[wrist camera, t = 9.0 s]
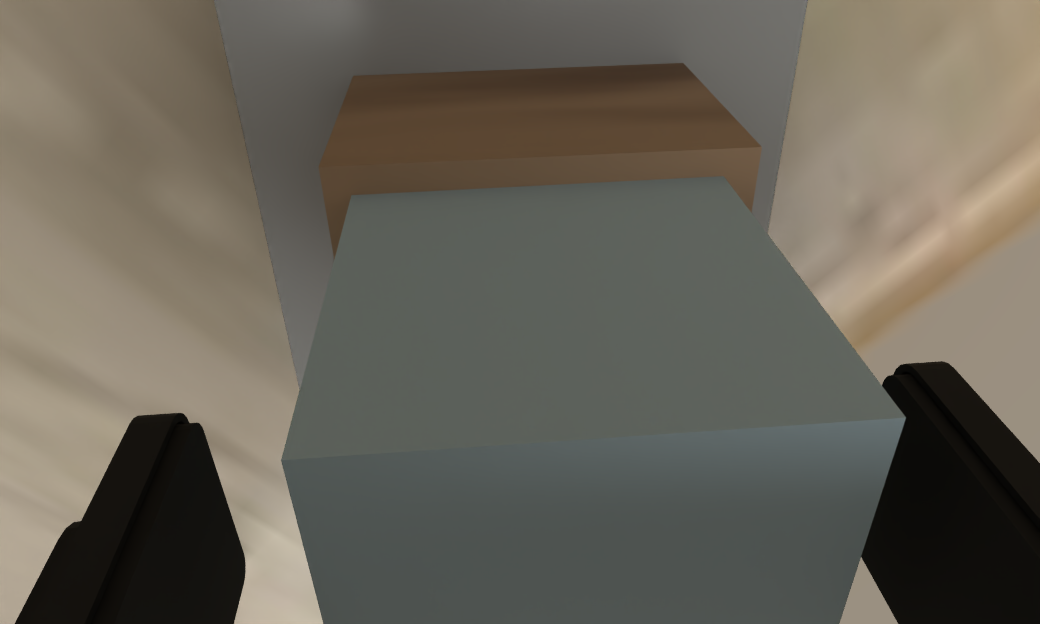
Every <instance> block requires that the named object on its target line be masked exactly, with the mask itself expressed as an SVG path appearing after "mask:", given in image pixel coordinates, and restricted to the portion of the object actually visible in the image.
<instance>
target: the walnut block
mask: <svg viewBox="0 0 1040 624" xmlns="http://www.w3.org/2000/svg"><path fill="white" fill-rule="evenodd" d="M761 150H762V147H761V145H760V144H759V143H758V142H757V141H756V140H755V139H754V138H753V137H752V136H751V135H750V134H749V133H748V132H747V131H746V129H745V128H744V127H743V126H742V125H741V124H740V123H739V122H738V121H737V120H736V119H735V118H734V117H733V116H732V114H731V113H730V112H729V111H728V110H727V109H726V108H725V107H724V106H723V105H722V104H721V103H720V102H719V101H718V100H717V98H716V97H715V96H714V95H713V94H712V93H711V92H710V91H709V90H708V89H707V88H706V87H705V86H704V85H703V83H702V82H701V81H700V80H699V79H698V78H697V77H696V76H695V75H694V74H693V73H692V72H691V71H690V70H689V69H688V67H687V66H686V65H685V64H684V63H668V64H642V65H617V66H591V67H565V68H540V69H514V70H488V71H463V72H437V73H411V74H386V75H360V76H353V78H352V80H351V83H350V85H349V88H348V91H347V93H346V96H345V99H344V101H343V104H342V106H341V109H340V112H339V114H338V117H337V120H336V122H335V125H334V127H333V130H332V133H331V135H330V138H329V141H328V143H327V146H326V149H325V151H324V154H323V156H322V159H321V162H320V164H319V173H320V179H321V185H322V191H323V197H324V203H325V208H326V214H327V220H328V226H329V232H330V238H331V244H332V250H333V256H334V259H335V255H336V252H337V248H338V244H339V240H340V236H341V233H342V229H343V225H344V221H345V218H346V214H347V210H348V206H349V202H350V199H351V195H366V194H385V193H404V192H424V191H443V190H463V189H482V188H502V187H521V186H541V185H560V184H580V183H599V182H619V181H638V180H658V179H677V178H697V177H716V176H724V177H725V178H726V180H727V181H728V182H729V184H730V185H731V186H732V188H733V189H734V190H735V192H736V193H737V194H738V196H739V197H740V198H741V200H742V201H743V202H744V204H745V205H746V206H747V208H748V209H749V210H750V212H751V213H752V207H753V201H754V194H755V188H756V182H757V175H758V169H759V163H760V156H761Z"/></svg>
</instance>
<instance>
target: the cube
mask: <svg viewBox="0 0 1040 624" xmlns="http://www.w3.org/2000/svg"><path fill="white" fill-rule="evenodd" d="M905 419H906V417H905V416H904V414H903V413H902V412H901V410H900V409H899V408H898V407H897V405H896V404H895V403H894V401H893V400H892V399H891V397H890V396H889V395H888V393H887V392H886V391H885V389H884V388H883V387H882V385H881V384H880V383H879V381H878V380H877V379H876V377H875V376H874V375H873V373H872V372H871V371H870V369H869V368H868V367H867V365H866V364H865V363H864V361H863V360H862V359H861V357H860V356H859V355H858V353H857V352H856V351H855V349H854V348H853V347H852V346H851V344H850V343H849V342H848V340H847V339H846V338H845V336H844V335H843V334H842V332H841V331H840V330H839V328H838V327H837V326H836V324H835V323H834V322H833V320H832V319H831V318H830V316H829V315H828V314H827V312H826V311H825V310H824V308H823V307H822V306H821V304H820V303H819V302H818V300H817V299H816V298H815V296H814V295H813V294H812V292H811V291H810V290H809V289H808V287H807V286H806V285H805V283H804V282H803V281H802V279H801V278H800V277H799V275H798V274H797V273H796V271H795V270H794V269H793V267H792V266H791V265H790V263H789V262H788V261H787V259H786V258H785V257H784V255H783V254H782V253H781V251H780V250H779V249H778V247H777V246H776V245H775V243H774V242H773V241H772V239H771V238H770V237H769V235H768V234H767V233H766V232H765V230H764V229H763V228H762V226H761V225H760V224H759V222H758V221H757V220H756V218H755V217H754V216H753V214H752V213H751V212H750V210H749V209H748V208H747V206H746V205H745V204H744V202H743V201H742V200H741V198H740V197H739V196H738V194H737V193H736V192H735V190H734V189H733V188H732V186H731V185H730V184H729V182H728V181H727V180H726V178H725V177H724V176H716V177H697V178H677V179H658V180H638V181H619V182H599V183H580V184H560V185H541V186H521V187H502V188H482V189H463V190H443V191H424V192H404V193H385V194H366V195H351V199H350V202H349V206H348V210H347V214H346V218H345V221H344V225H343V229H342V233H341V236H340V240H339V244H338V248H337V252H336V255H335V259H334V263H333V267H332V270H331V274H330V278H329V282H328V286H327V289H326V293H325V297H324V301H323V304H322V308H321V312H320V316H319V319H318V323H317V327H316V331H315V335H314V338H313V342H312V346H311V350H310V353H309V357H308V361H307V365H306V369H305V372H304V376H303V380H302V384H301V387H300V391H299V395H298V399H297V403H296V406H295V410H294V414H293V418H292V421H291V425H290V429H289V433H288V436H287V440H286V444H285V448H284V452H283V455H282V459H281V461H282V465H283V469H284V473H285V477H286V481H287V484H288V488H289V492H290V496H291V500H292V504H293V508H294V511H295V515H296V519H297V523H298V527H299V531H300V535H301V539H302V542H303V546H304V550H305V554H306V558H307V562H308V566H309V569H310V573H311V577H312V581H313V585H314V589H315V593H316V596H317V600H318V604H319V608H320V612H321V616H322V620H323V624H839V623H840V619H841V617H842V614H843V610H844V607H845V604H846V601H847V598H848V595H849V592H850V589H851V586H852V583H853V580H854V577H855V573H856V570H857V567H858V564H859V561H860V558H861V555H862V552H863V549H864V546H865V543H866V539H867V536H868V533H869V530H870V527H871V524H872V521H873V518H874V515H875V512H876V509H877V506H878V502H879V499H880V496H881V493H882V490H883V487H884V484H885V481H886V478H887V475H888V472H889V468H890V465H891V462H892V459H893V456H894V453H895V450H896V447H897V444H898V441H899V438H900V435H901V431H902V428H903V425H904V422H905Z"/></svg>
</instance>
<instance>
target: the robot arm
mask: <svg viewBox="0 0 1040 624" xmlns="http://www.w3.org/2000/svg"><path fill="white" fill-rule="evenodd" d="M882 387H883V388H884V389H885V391H886V392H887V393H888V395H889V396H890V397H891V399H892V400H893V401H894V403H895V404H896V405H897V407H898V408H899V409H900V410H901V412H902V413H903V414H904V416H905V417H906V419H905V422H904V425H903V428H902V431H901V435H900V438H899V441H898V444H897V447H896V450H895V453H894V456H893V459H892V462H891V465H890V468H889V472H888V475H887V478H886V481H885V484H884V487H883V490H882V493H881V496H880V499H879V502H878V506H877V509H876V512H875V515H874V518H873V521H872V524H871V527H870V530H869V533H868V536H867V539H866V543H865V546H864V549H863V552H862V555H861V557H862V559H863V561H864V563H865V564H866V566H867V568H868V570H869V572H870V573H871V575H872V577H873V579H874V581H875V582H876V584H877V586H878V588H879V590H880V591H881V593H882V595H883V597H884V598H885V600H886V602H887V604H888V606H889V608H890V609H891V611H892V613H893V615H894V617H895V619H896V620H897V622H898V624H1040V463H1039V462H1038V461H1037V460H1036V459H1035V457H1034V456H1033V455H1032V454H1031V453H1030V452H1029V451H1028V450H1027V449H1026V448H1025V446H1024V445H1023V444H1022V443H1021V442H1020V441H1019V440H1018V439H1017V438H1016V436H1015V435H1014V434H1013V433H1012V432H1011V431H1010V430H1009V429H1008V428H1007V427H1006V425H1005V424H1004V423H1003V422H1002V421H1001V420H1000V419H999V418H998V416H997V415H996V414H995V413H994V412H993V411H992V410H991V409H990V408H989V406H988V405H987V404H986V403H985V402H984V401H983V400H982V399H981V398H980V396H979V395H978V394H977V393H976V392H975V391H974V390H973V389H972V388H971V386H970V385H969V384H968V383H967V382H966V381H965V380H964V379H963V378H962V377H961V375H960V374H959V373H958V372H957V371H956V370H955V369H954V368H953V367H952V366H951V365H950V364H948V363H946V362H942V361H941V362H926V363H912V364H903V365H900V366H899V367H898V368H897V369H896V370H895V372H894V374H893V375H891V376H888V377H886V379H885V380H884V382H883V384H882ZM244 580H245V557H244V553H243V550H242V547H241V543H240V540H239V537H238V534H237V531H236V528H235V525H234V522H233V519H232V516H231V513H230V510H229V507H228V504H227V501H226V498H225V495H224V491H223V488H222V485H221V482H220V479H219V476H218V473H217V470H216V467H215V464H214V461H213V458H212V455H211V452H210V449H209V446H208V443H207V439H206V436H205V433H204V430H203V428H202V426H201V425H200V424H199V423H189V421H188V419H187V417H186V416H185V415H184V414H182V413H172V414H157V415H142V416H137V417H135V418H133V420H132V421H131V423H130V424H129V426H128V428H127V430H126V432H125V434H124V436H123V438H122V440H121V442H120V444H119V446H118V448H117V450H116V452H115V454H114V456H113V458H112V460H111V462H110V464H109V466H108V468H107V470H106V472H105V474H104V476H103V478H102V480H101V482H100V484H99V486H98V488H97V490H96V492H95V494H94V496H93V498H92V500H91V502H90V504H89V506H88V508H87V511H86V513H85V515H84V517H83V519H82V521H80V522H74V523H72V524H71V525H70V526H68V527H67V528H66V529H65V530H64V532H63V533H62V535H61V536H60V538H59V539H58V541H57V543H56V545H55V547H54V549H53V551H52V553H51V555H50V557H49V559H48V560H47V562H46V564H45V566H44V568H43V570H42V572H41V574H40V576H39V578H38V580H37V582H36V584H35V586H34V588H33V589H32V591H31V593H30V595H29V597H28V599H27V601H26V603H25V605H24V607H23V609H22V611H21V613H20V615H19V617H18V618H17V620H16V622H15V624H234V620H235V616H236V612H237V608H238V604H239V601H240V597H241V593H242V589H243V585H244Z"/></svg>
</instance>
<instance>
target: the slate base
mask: <svg viewBox="0 0 1040 624" xmlns="http://www.w3.org/2000/svg"><path fill="white" fill-rule="evenodd" d="M807 1H808V0H214V3H215V7H216V12H217V16H218V21H219V25H220V30H221V35H222V39H223V44H224V48H225V53H226V57H227V62H228V66H229V71H230V75H231V80H232V85H233V89H234V94H235V98H236V103H237V107H238V112H239V116H240V121H241V125H242V130H243V135H244V139H245V144H246V148H247V153H248V157H249V162H250V166H251V171H252V175H253V180H254V185H255V189H256V194H257V198H258V203H259V207H260V212H261V216H262V221H263V225H264V230H265V235H266V239H267V244H268V248H269V253H270V257H271V262H272V266H273V271H274V275H275V280H276V285H277V289H278V294H279V298H280V303H281V307H282V312H283V316H284V321H285V325H286V330H287V335H288V339H289V344H290V348H291V353H292V357H293V362H294V366H295V371H296V375H297V380H298V385H299V389H300V387H301V384H302V380H303V376H304V372H305V369H306V365H307V361H308V357H309V353H310V350H311V346H312V342H313V338H314V335H315V331H316V327H317V323H318V319H319V316H320V312H321V308H322V304H323V301H324V297H325V293H326V289H327V286H328V282H329V278H330V274H331V270H332V267H333V263H334V256H333V250H332V244H331V238H330V232H329V226H328V220H327V214H326V208H325V203H324V197H323V191H322V185H321V179H320V173H319V164H320V162H321V159H322V156H323V154H324V151H325V149H326V146H327V143H328V141H329V138H330V135H331V133H332V130H333V127H334V125H335V122H336V120H337V117H338V114H339V112H340V109H341V106H342V104H343V101H344V99H345V96H346V93H347V91H348V88H349V85H350V83H351V80H352V78H353V76H360V75H386V74H411V73H437V72H463V71H488V70H514V69H540V68H565V67H591V66H617V65H642V64H668V63H684V64H685V65H686V66H687V67H688V69H689V70H690V71H691V72H692V73H693V74H694V75H695V76H696V77H697V78H698V79H699V80H700V81H701V82H702V83H703V85H704V86H705V87H706V88H707V89H708V90H709V91H710V92H711V93H712V94H713V95H714V96H715V97H716V98H717V100H718V101H719V102H720V103H721V104H722V105H723V106H724V107H725V108H726V109H727V110H728V111H729V112H730V113H731V114H732V116H733V117H734V118H735V119H736V120H737V121H738V122H739V123H740V124H741V125H742V126H743V127H744V128H745V129H746V131H747V132H748V133H749V134H750V135H751V136H752V137H753V138H754V139H755V140H756V141H757V142H758V143H759V144H760V145H761V147H762V150H761V156H760V163H759V169H758V175H757V182H756V188H755V194H754V201H753V207H752V214H753V216H754V217H755V218H756V220H757V221H758V222H759V224H760V225H761V226H762V228H763V229H764V230H765V232H766V233H767V232H768V226H769V220H770V215H771V209H772V203H773V197H774V191H775V186H776V180H777V174H778V168H779V163H780V157H781V151H782V145H783V140H784V134H785V128H786V122H787V117H788V111H789V105H790V99H791V93H792V88H793V82H794V76H795V70H796V65H797V59H798V53H799V47H800V42H801V36H802V30H803V24H804V18H805V13H806V7H807Z"/></svg>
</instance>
